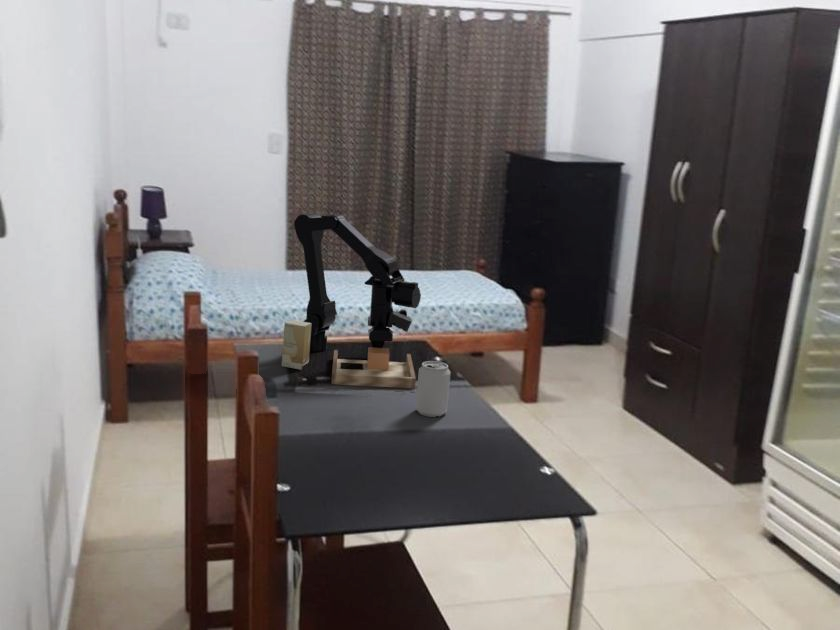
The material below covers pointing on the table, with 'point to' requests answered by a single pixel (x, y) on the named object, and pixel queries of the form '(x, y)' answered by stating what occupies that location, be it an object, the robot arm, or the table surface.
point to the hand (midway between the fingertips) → (377, 357)
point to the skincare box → (296, 344)
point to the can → (433, 388)
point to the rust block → (378, 358)
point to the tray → (374, 374)
